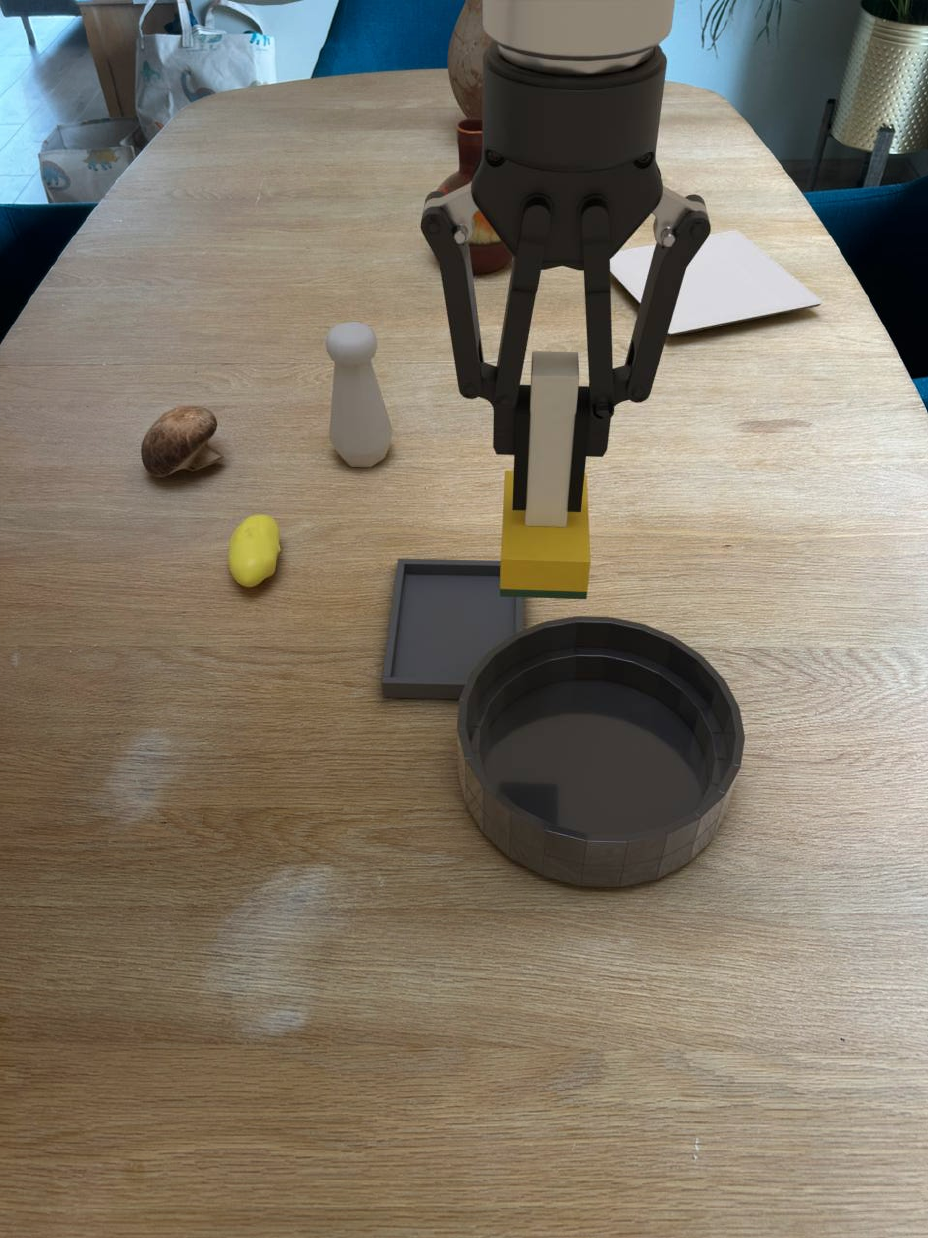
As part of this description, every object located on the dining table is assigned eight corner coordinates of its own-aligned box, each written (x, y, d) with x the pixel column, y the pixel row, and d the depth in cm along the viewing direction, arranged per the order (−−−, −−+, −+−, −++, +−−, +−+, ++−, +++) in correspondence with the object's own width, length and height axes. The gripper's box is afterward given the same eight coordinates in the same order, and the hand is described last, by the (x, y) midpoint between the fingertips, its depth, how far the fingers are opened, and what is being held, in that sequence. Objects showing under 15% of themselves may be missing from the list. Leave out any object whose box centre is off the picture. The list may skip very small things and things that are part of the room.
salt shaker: (325, 444, 95) (307, 320, 85) (382, 430, 96) (371, 306, 87) (343, 479, 91) (327, 353, 82) (402, 464, 92) (393, 339, 83)
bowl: (404, 767, 69) (399, 712, 65) (584, 634, 77) (590, 579, 73) (601, 951, 60) (610, 902, 55) (782, 777, 68) (802, 723, 64)
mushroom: (251, 440, 90) (200, 389, 87) (191, 505, 88) (137, 455, 85) (227, 436, 97) (178, 389, 94) (170, 497, 95) (119, 450, 92)
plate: (666, 349, 106) (669, 331, 104) (594, 270, 118) (595, 253, 116) (820, 317, 110) (825, 300, 108) (734, 244, 122) (738, 227, 120)
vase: (524, 239, 124) (528, 106, 112) (519, 283, 116) (523, 145, 105) (435, 236, 124) (431, 104, 113) (424, 280, 117) (418, 143, 106)
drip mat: (522, 701, 73) (522, 686, 72) (383, 697, 73) (381, 682, 72) (522, 575, 82) (523, 560, 81) (399, 573, 82) (397, 558, 81)
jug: (587, 110, 153) (604, -132, 131) (609, 167, 138) (632, -95, 117) (446, 115, 153) (440, -127, 131) (453, 173, 138) (446, -89, 116)
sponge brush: (586, 599, 58) (607, 409, 48) (499, 596, 58) (504, 407, 48) (583, 510, 63) (601, 323, 54) (504, 507, 63) (508, 321, 54)
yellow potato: (292, 536, 86) (285, 500, 83) (272, 601, 80) (264, 566, 78) (244, 533, 86) (236, 498, 83) (221, 599, 81) (211, 564, 78)
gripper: (755, 14, 43) (676, 459, 60) (394, 12, 43) (418, 452, 60) (784, 75, 37) (688, 543, 54) (374, 71, 38) (406, 535, 55)
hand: (546, 495), depth 57 cm, fingers closed on sponge brush, 2 cm apart
